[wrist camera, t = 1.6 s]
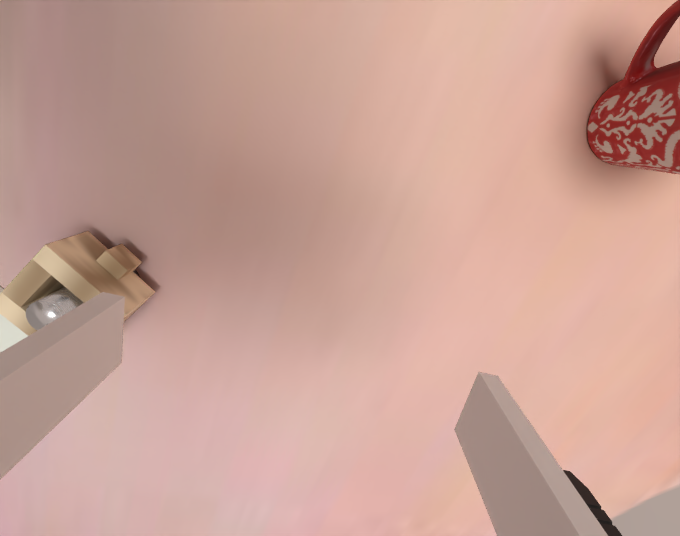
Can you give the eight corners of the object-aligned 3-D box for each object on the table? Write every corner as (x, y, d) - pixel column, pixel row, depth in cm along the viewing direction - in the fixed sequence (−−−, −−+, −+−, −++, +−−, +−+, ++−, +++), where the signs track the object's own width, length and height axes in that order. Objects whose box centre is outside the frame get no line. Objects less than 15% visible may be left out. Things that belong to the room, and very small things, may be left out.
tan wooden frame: (37, 284, 35) (-11, 305, 30) (97, 221, 33) (55, 233, 28) (104, 339, 36) (69, 368, 32) (164, 283, 34) (136, 304, 30)
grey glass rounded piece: (57, 279, 36) (-20, 313, 28) (99, 234, 35) (31, 258, 27) (112, 326, 38) (54, 371, 30) (155, 286, 36) (106, 321, 29)
